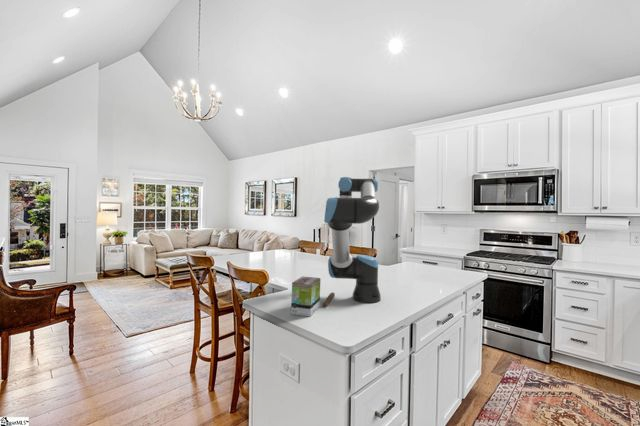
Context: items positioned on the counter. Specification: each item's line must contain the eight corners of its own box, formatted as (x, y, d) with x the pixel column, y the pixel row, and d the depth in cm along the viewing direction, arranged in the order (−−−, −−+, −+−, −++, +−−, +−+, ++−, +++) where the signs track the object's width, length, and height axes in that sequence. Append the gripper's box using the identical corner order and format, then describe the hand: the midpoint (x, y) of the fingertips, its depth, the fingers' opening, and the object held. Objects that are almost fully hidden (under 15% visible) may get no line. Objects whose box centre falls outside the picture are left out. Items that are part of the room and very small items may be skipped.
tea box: (311, 317, 137) (312, 284, 137) (290, 314, 140) (290, 282, 139) (320, 306, 152) (320, 277, 151) (300, 304, 154) (301, 275, 154)
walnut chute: (334, 296, 170) (334, 292, 170) (326, 307, 150) (326, 303, 150) (305, 293, 174) (305, 290, 174) (293, 304, 155) (293, 300, 155)
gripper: (341, 203, 192) (340, 241, 192) (337, 202, 180) (336, 242, 179) (353, 203, 190) (352, 241, 190) (349, 202, 178) (348, 243, 177)
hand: (344, 242), depth 184 cm, fingers closed
